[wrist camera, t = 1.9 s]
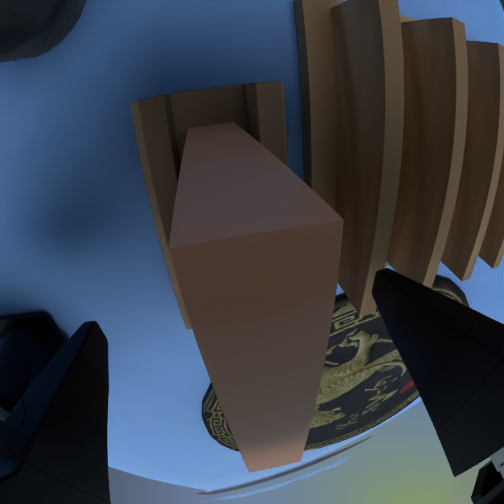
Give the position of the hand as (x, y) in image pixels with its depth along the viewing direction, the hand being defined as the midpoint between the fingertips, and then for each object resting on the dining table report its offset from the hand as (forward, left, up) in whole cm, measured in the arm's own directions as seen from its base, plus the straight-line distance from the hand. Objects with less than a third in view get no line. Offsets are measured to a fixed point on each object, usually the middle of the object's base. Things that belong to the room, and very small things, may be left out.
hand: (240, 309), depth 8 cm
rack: (+11, +3, -6) cm, 13 cm away
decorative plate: (+10, -21, -7) cm, 24 cm away
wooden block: (0, 0, -5) cm, 5 cm away
